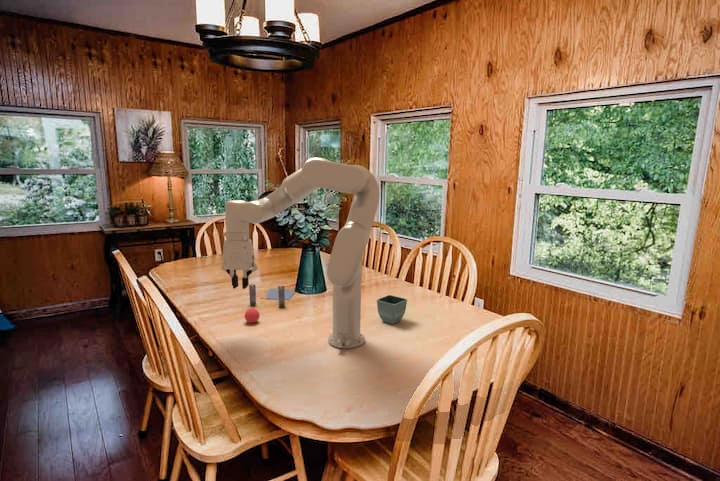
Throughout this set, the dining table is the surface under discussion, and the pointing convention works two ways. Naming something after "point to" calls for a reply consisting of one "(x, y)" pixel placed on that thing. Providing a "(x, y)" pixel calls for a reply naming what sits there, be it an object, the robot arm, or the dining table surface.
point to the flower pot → (391, 308)
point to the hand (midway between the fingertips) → (240, 287)
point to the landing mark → (274, 294)
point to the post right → (281, 296)
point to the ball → (252, 315)
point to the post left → (252, 295)
